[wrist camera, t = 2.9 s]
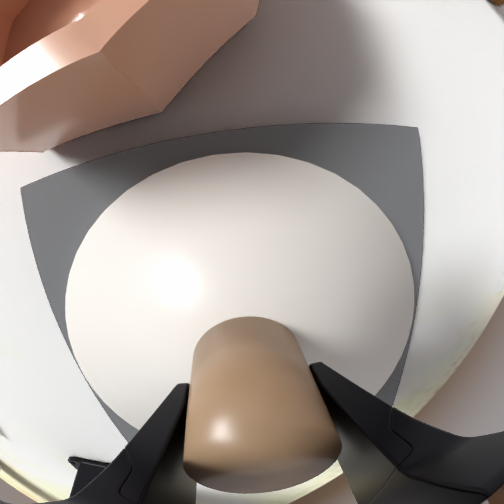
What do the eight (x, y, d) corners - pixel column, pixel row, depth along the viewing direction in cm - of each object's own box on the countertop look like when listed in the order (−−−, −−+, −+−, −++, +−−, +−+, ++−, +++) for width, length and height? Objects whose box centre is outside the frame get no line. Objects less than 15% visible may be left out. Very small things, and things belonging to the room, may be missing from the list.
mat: (386, 408, 14) (389, 413, 13) (139, 448, 12) (138, 454, 12) (410, 128, 9) (417, 127, 8) (27, 186, 8) (20, 187, 7)
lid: (381, 410, 13) (419, 474, 8) (144, 449, 12) (133, 521, 7) (405, 145, 9) (520, 144, 3) (35, 202, 8) (-70, 235, 2)
